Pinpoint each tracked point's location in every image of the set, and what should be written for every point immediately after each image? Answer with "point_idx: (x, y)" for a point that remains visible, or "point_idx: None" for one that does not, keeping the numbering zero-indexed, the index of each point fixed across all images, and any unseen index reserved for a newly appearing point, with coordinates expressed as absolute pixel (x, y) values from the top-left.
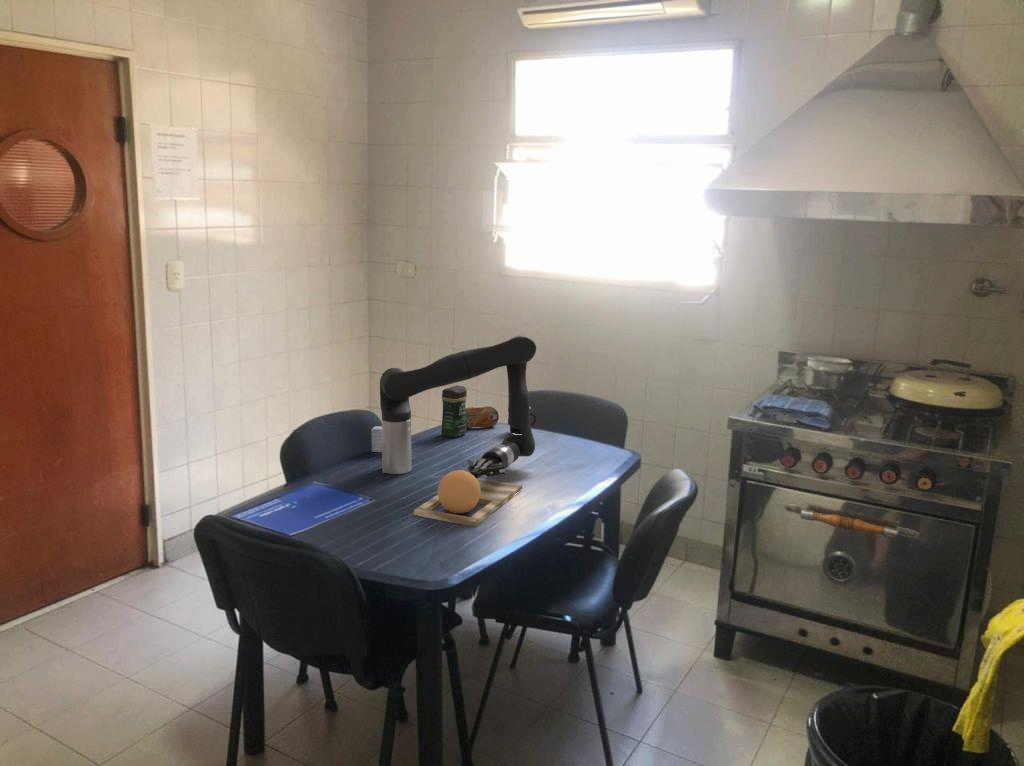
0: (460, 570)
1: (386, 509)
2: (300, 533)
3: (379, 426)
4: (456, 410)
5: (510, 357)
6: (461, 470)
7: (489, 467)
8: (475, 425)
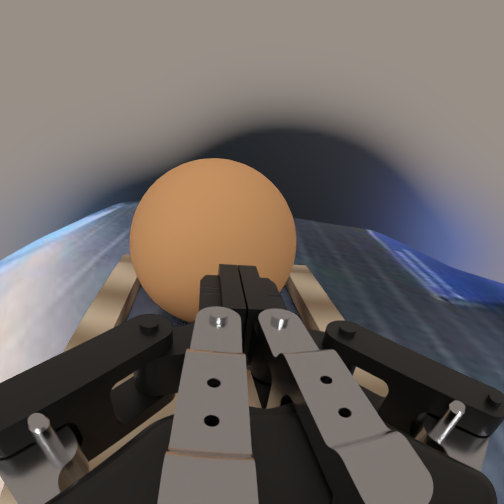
0: (115, 209)
1: (375, 282)
2: (363, 230)
3: None
4: None
5: None
6: (220, 162)
7: (145, 347)
8: None
